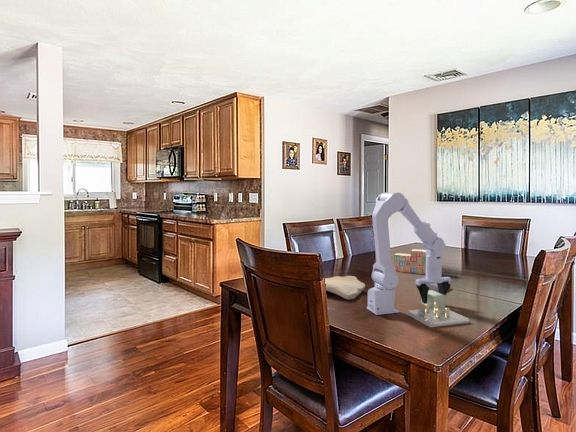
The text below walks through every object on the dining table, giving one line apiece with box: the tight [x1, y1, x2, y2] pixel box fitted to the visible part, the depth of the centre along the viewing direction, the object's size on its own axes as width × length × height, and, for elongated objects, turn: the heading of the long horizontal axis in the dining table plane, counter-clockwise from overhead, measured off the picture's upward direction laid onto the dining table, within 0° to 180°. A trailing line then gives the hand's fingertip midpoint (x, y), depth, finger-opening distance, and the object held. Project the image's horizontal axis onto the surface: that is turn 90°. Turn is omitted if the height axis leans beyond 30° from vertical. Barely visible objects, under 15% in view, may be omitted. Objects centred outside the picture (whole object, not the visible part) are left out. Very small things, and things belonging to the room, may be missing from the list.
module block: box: [420, 290, 447, 308], centre depth 145 cm, size 5×8×5 cm, turn 15°
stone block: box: [426, 283, 439, 293], centre depth 169 cm, size 12×5×10 cm
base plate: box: [406, 303, 470, 328], centre depth 130 cm, size 15×13×4 cm
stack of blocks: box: [393, 248, 426, 275], centre depth 203 cm, size 21×6×12 cm, turn 59°
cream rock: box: [324, 275, 366, 301], centre depth 165 cm, size 24×8×20 cm
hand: (432, 302), depth 145 cm, fingers open, 7 cm apart
